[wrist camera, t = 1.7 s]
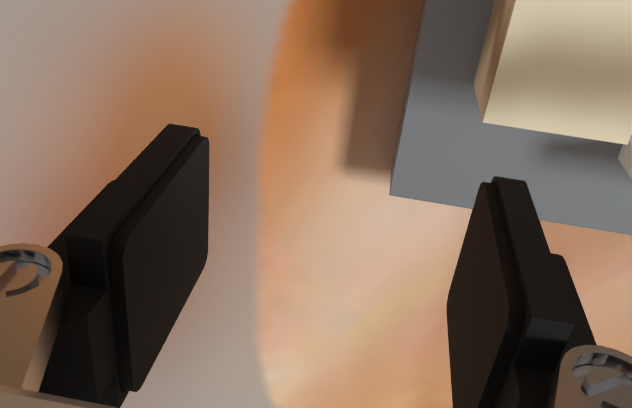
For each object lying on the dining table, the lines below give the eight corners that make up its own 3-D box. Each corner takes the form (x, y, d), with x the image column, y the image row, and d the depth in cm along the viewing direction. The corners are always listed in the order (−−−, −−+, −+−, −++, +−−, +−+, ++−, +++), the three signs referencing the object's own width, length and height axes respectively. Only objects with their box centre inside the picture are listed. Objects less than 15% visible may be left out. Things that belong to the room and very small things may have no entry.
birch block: (505, -45, 26) (523, -27, 22) (644, -27, 26) (689, -5, 21) (473, 84, 29) (482, 122, 25) (596, 102, 29) (627, 144, 24)
